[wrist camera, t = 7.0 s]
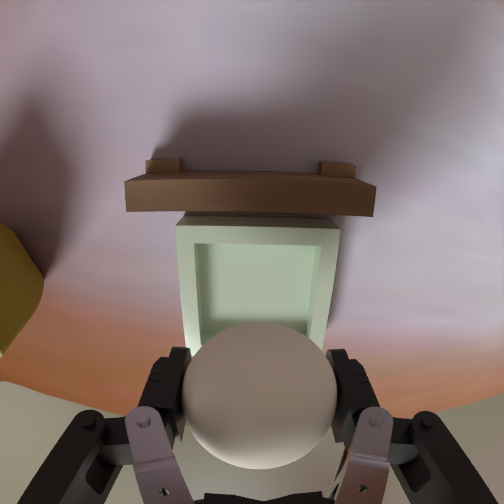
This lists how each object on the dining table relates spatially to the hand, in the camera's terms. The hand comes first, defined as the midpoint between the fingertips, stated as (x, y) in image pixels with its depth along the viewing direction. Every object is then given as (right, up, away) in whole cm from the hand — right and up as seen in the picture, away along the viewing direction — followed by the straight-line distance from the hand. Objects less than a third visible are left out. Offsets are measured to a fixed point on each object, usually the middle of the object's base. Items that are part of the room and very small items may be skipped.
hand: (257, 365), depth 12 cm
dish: (0, +3, +7) cm, 8 cm away
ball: (0, 0, +1) cm, 1 cm away
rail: (0, +9, +5) cm, 10 cm away
